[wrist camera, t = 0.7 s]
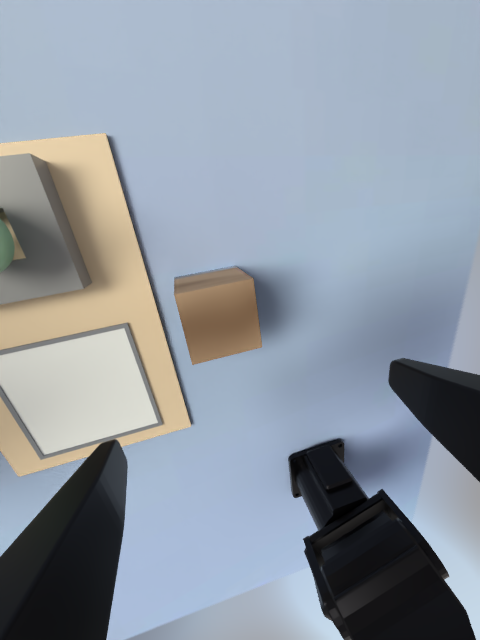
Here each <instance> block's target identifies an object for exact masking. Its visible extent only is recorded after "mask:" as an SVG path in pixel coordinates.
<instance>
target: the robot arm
mask: <svg viewBox="0 0 480 640" xmlns="http://www.w3.org/2000/svg"><path fill="white" fill-rule="evenodd" d="M389 385H390V387H391V388H392V390H393V391H394V392H395V393H396V394H397V395H398V397H399V398H400V399H401V400H402V401H403V402H404V404H405V405H406V406H407V407H408V408H409V410H410V411H411V412H412V413H413V414H414V415H415V417H416V418H417V419H418V420H419V421H420V422H421V424H422V425H423V426H424V427H425V428H426V429H427V430H428V431H429V432H430V433H431V434H432V435H433V436H434V437H435V438H436V439H437V440H438V441H439V442H440V443H441V444H442V445H443V446H444V447H445V448H446V449H447V450H448V451H449V452H450V453H451V454H452V455H453V456H454V457H455V458H456V459H457V460H458V461H459V462H460V463H461V464H462V465H463V466H464V467H465V468H466V469H467V470H468V471H469V472H470V473H471V474H472V475H473V476H474V477H475V478H476V479H477V480H478V481H479V482H480V375H477V374H472V373H468V372H463V371H459V370H454V369H450V368H445V367H441V366H437V365H432V364H428V363H423V362H419V361H414V360H410V359H405V358H401V359H397V360H394V361H392V362H391V364H390V370H389ZM288 461H289V471H290V481H291V490H292V494H293V497H294V498H298V497H300V496H302V497H303V499H304V501H305V503H306V505H307V507H308V509H309V512H310V514H311V516H312V518H313V520H314V522H315V524H316V526H317V529H318V531H317V532H316V533H314V534H312V535H311V536H307V537H305V538H304V539H303V540H304V543H305V546H306V549H305V551H304V552H305V555H306V557H307V560H308V562H309V565H310V568H311V570H312V573H313V577H314V580H315V585H316V589H317V593H318V597H319V601H320V605H321V609H322V611H323V614H324V615H325V617H326V618H328V619H329V620H331V621H333V623H334V625H335V626H336V628H337V629H338V630H339V632H340V634H341V636H342V637H343V639H344V640H476V638H475V635H474V632H473V629H472V627H471V624H470V620H469V618H468V615H467V612H466V610H465V609H464V607H463V605H462V604H461V603H460V601H459V600H458V599H457V597H456V596H455V594H454V593H453V592H452V590H451V589H450V587H449V586H448V585H447V583H446V582H445V581H444V579H446V578H447V577H449V574H448V572H447V570H446V569H445V567H444V565H443V564H442V562H441V561H440V559H439V558H438V556H437V555H436V553H435V552H434V551H433V550H432V548H431V546H430V545H429V544H428V543H427V541H426V540H425V539H424V537H423V536H422V535H421V534H420V532H419V531H418V530H417V529H416V528H415V526H414V525H413V524H412V523H411V522H410V521H409V519H408V518H407V517H406V516H405V515H404V514H403V512H402V511H401V510H400V509H399V508H398V507H397V505H396V504H395V503H394V502H393V501H392V500H391V499H390V497H389V496H388V495H387V494H386V493H385V492H384V490H383V489H381V490H380V491H378V492H377V494H376V495H374V496H373V497H371V498H368V497H367V495H366V494H365V492H364V491H363V490H362V488H361V487H360V485H359V484H358V483H357V481H356V480H355V478H354V477H353V475H352V474H351V473H350V471H349V470H348V468H347V467H346V466H345V464H344V442H343V441H342V440H340V439H339V440H336V441H333V442H330V443H327V444H324V445H321V446H318V447H315V448H312V449H309V450H306V451H303V452H300V453H297V454H294V455H291V456H290V457H289V458H288ZM127 468H128V466H127V459H126V457H125V454H124V452H123V450H122V448H121V445H120V443H119V441H118V440H117V439H113V440H109V441H105V442H103V443H101V444H100V445H99V446H98V447H97V448H96V449H95V450H94V451H93V452H92V454H91V455H90V456H89V457H88V458H87V459H86V460H85V461H84V463H83V464H82V465H81V466H80V467H79V468H78V469H77V471H76V472H75V473H74V474H73V475H72V476H71V477H70V478H69V480H68V481H67V482H66V483H65V484H64V485H63V486H62V488H61V489H60V490H59V491H58V492H57V493H56V494H55V495H54V497H53V498H52V499H51V500H50V501H49V502H48V503H47V505H46V506H45V507H44V508H43V509H42V510H41V511H40V512H39V514H38V515H37V516H36V517H35V518H34V519H33V520H32V522H31V523H30V524H29V525H28V526H27V527H26V528H25V529H24V531H23V532H22V533H21V534H20V535H19V536H18V537H17V539H16V540H15V541H14V542H13V543H12V544H11V545H10V546H9V548H8V549H7V550H6V551H5V552H4V553H3V554H2V556H1V557H0V640H106V638H107V632H108V625H109V619H110V613H111V606H112V600H113V594H114V588H115V581H116V575H117V569H118V562H119V556H120V550H121V544H122V537H123V530H124V520H125V504H126V486H127Z"/></svg>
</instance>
